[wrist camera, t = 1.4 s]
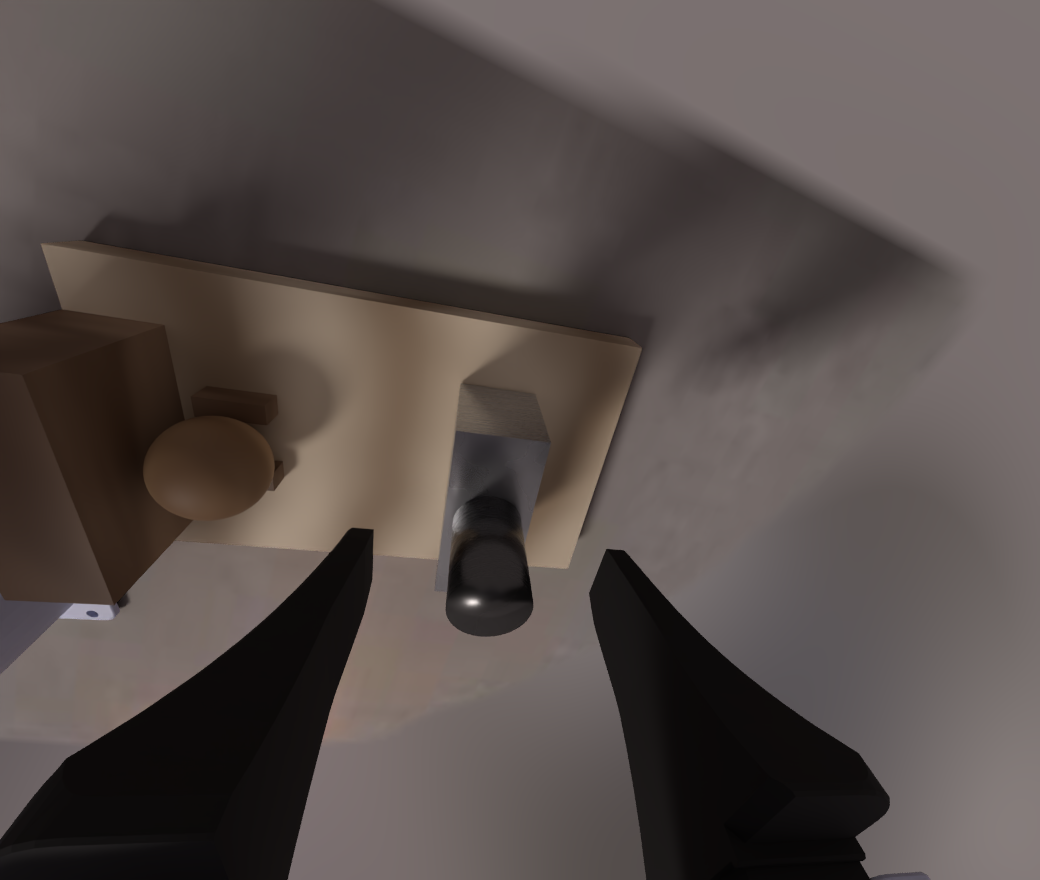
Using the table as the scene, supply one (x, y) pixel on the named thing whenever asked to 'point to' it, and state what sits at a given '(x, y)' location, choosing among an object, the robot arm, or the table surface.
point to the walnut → (208, 468)
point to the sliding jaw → (491, 509)
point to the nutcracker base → (268, 414)
